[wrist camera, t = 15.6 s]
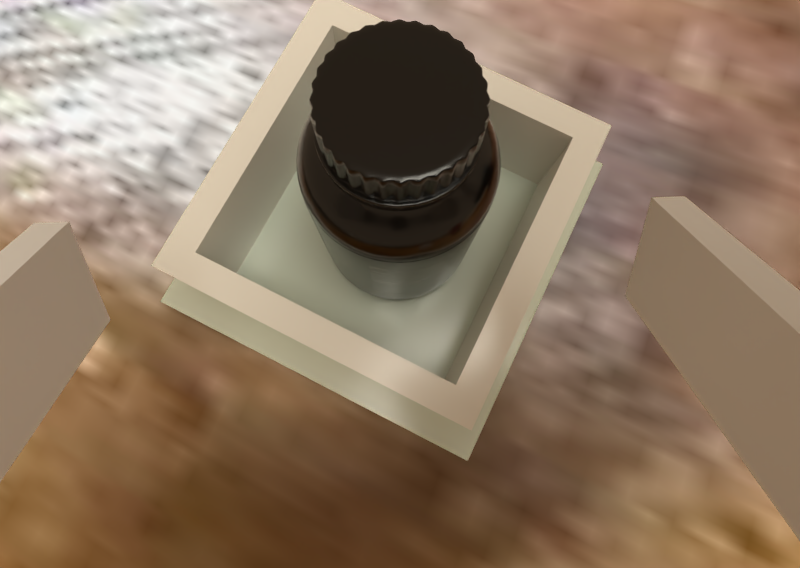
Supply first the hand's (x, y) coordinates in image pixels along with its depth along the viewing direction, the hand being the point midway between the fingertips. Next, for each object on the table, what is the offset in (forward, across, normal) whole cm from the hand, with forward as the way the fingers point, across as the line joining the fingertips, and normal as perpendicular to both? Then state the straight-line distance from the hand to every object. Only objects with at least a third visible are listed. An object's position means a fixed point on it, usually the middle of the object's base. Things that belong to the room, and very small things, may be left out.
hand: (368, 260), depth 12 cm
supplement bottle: (+12, +1, -6) cm, 13 cm away
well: (+13, +1, -7) cm, 15 cm away
